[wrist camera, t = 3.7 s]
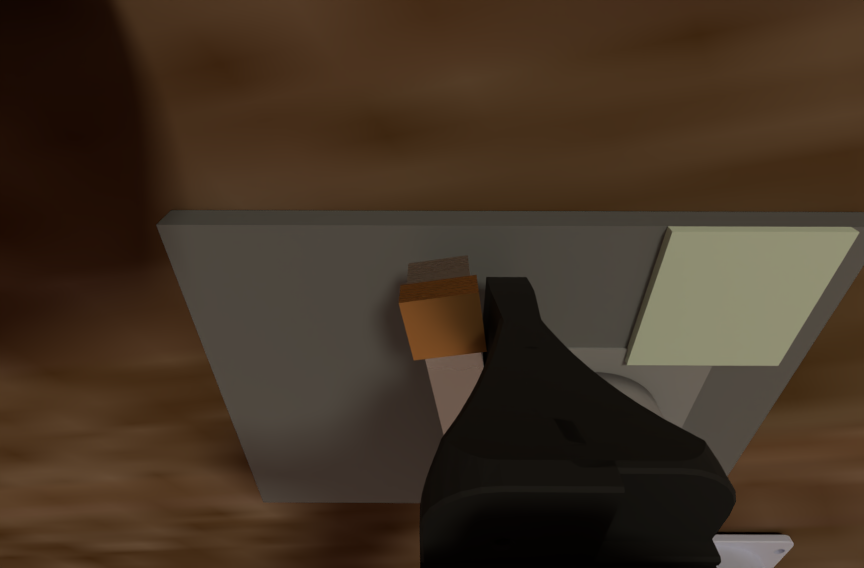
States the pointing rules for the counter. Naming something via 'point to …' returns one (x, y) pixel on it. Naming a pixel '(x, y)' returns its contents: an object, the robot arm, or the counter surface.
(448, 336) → the rod with orange cap
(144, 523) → the counter surface
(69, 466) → the counter surface
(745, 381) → the board
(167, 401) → the counter surface
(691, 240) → the pad
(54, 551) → the counter surface
